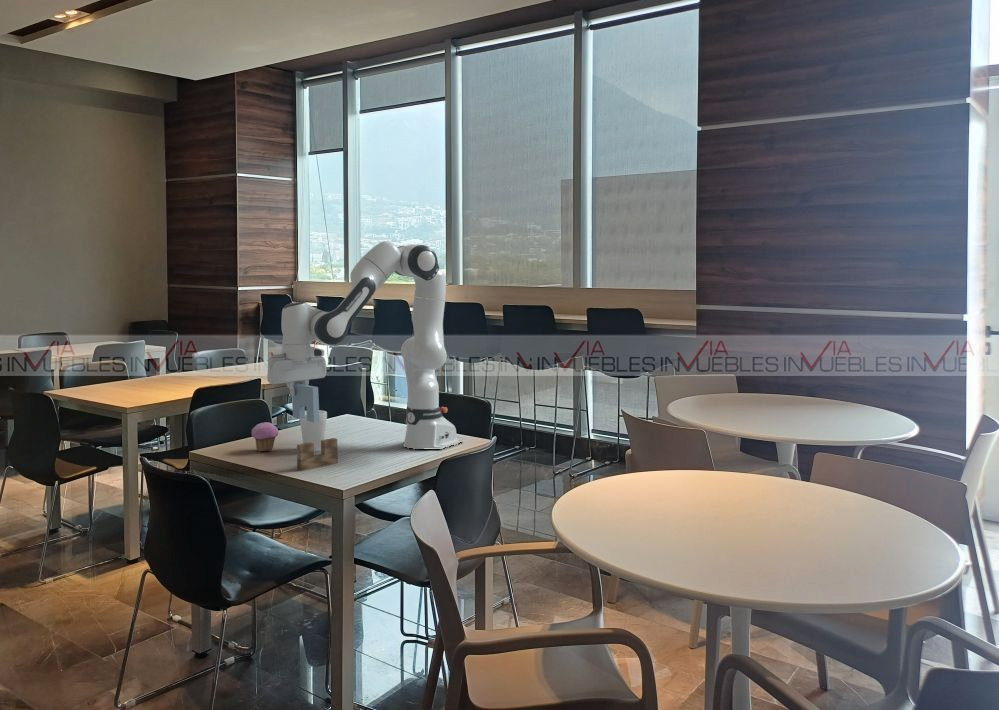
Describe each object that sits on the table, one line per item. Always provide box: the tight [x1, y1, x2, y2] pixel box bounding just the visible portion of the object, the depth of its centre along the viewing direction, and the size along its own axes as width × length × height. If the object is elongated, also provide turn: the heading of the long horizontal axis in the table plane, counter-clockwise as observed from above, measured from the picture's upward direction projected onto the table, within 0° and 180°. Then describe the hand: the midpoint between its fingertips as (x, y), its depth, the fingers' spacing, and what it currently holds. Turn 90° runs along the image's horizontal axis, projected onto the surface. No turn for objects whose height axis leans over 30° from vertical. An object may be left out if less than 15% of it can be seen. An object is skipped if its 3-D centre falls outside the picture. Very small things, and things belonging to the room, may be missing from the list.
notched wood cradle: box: [296, 437, 339, 472], centre depth 251 cm, size 14×2×8 cm, turn 138°
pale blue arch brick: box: [291, 382, 320, 422], centre depth 251 cm, size 12×2×11 cm, turn 47°
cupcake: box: [251, 421, 279, 452], centre depth 271 cm, size 9×9×10 cm
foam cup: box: [298, 409, 328, 452], centre depth 274 cm, size 10×9×13 cm
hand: (298, 394), depth 254 cm, fingers closed on pale blue arch brick, 2 cm apart
